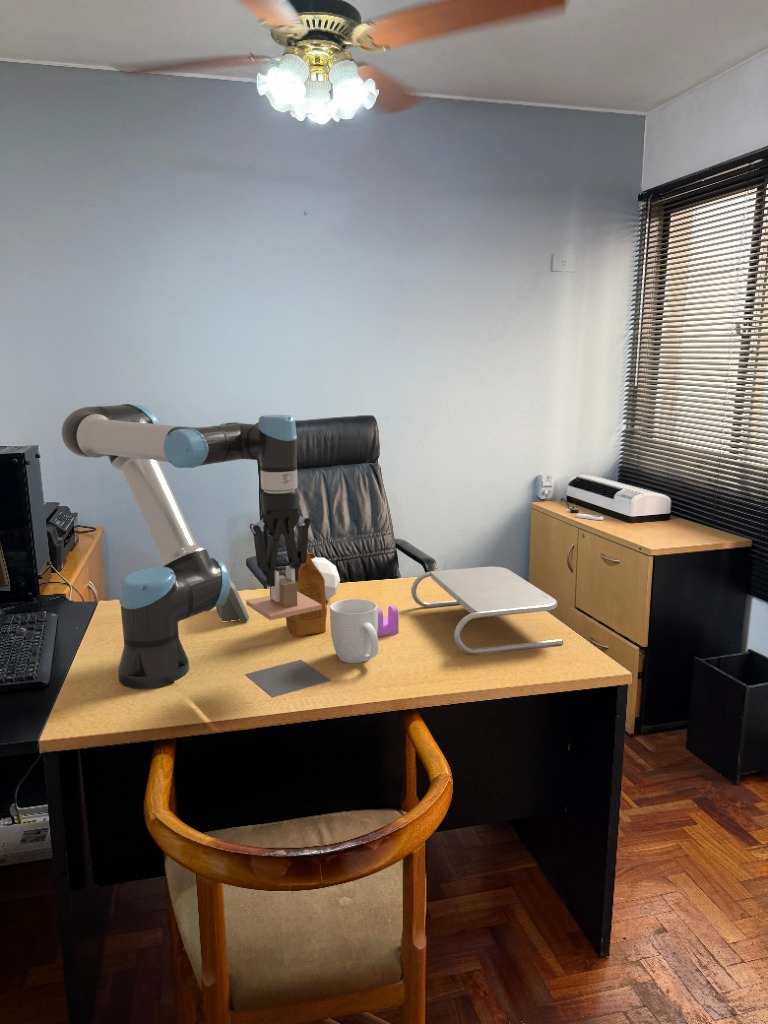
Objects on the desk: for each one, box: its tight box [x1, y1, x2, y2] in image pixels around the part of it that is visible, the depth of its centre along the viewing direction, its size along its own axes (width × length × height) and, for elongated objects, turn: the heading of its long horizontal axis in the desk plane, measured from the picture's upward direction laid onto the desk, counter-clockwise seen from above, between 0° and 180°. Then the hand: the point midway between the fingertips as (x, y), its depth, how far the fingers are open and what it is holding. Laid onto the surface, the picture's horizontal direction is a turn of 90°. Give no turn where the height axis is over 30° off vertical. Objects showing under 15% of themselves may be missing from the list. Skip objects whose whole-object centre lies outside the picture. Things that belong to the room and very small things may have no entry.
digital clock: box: [215, 579, 250, 623], centre depth 199 cm, size 16×9×11 cm, turn 11°
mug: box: [329, 598, 379, 664], centre depth 166 cm, size 15×11×13 cm
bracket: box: [377, 605, 400, 637], centre depth 189 cm, size 13×6×7 cm, turn 21°
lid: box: [245, 574, 322, 621], centre depth 154 cm, size 12×12×6 cm
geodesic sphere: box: [312, 556, 341, 602], centre depth 209 cm, size 14×14×14 cm
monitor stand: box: [410, 566, 564, 656], centre depth 189 cm, size 37×28×11 cm
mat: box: [244, 659, 332, 698], centre depth 158 cm, size 14×14×1 cm
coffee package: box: [285, 551, 328, 638], centre depth 186 cm, size 10×12×22 cm
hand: (283, 598), depth 154 cm, fingers closed on lid, 3 cm apart
